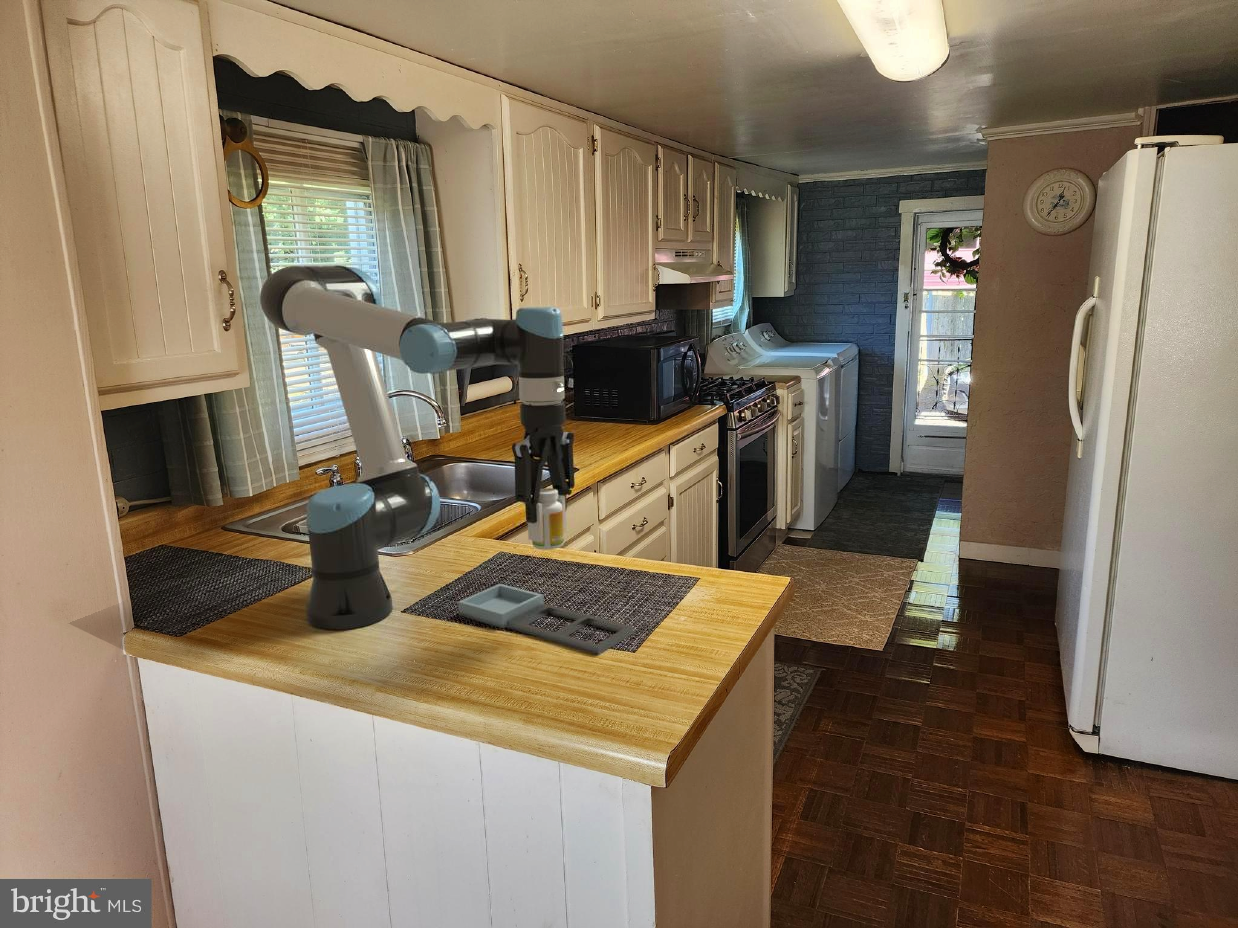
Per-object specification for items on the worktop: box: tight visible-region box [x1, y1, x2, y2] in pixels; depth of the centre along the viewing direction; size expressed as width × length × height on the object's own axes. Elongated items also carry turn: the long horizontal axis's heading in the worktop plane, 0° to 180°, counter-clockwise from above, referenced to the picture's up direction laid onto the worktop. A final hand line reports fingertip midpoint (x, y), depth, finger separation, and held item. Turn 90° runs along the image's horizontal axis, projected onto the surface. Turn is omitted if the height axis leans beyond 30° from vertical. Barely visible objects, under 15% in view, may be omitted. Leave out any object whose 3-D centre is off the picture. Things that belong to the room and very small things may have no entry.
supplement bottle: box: [531, 487, 565, 551], centre depth 145 cm, size 5×5×10 cm
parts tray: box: [457, 583, 545, 629], centre depth 156 cm, size 11×11×3 cm
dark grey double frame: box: [506, 603, 634, 655], centre depth 147 cm, size 10×20×1 cm, turn 55°
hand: (547, 535), depth 145 cm, fingers closed on supplement bottle, 5 cm apart
